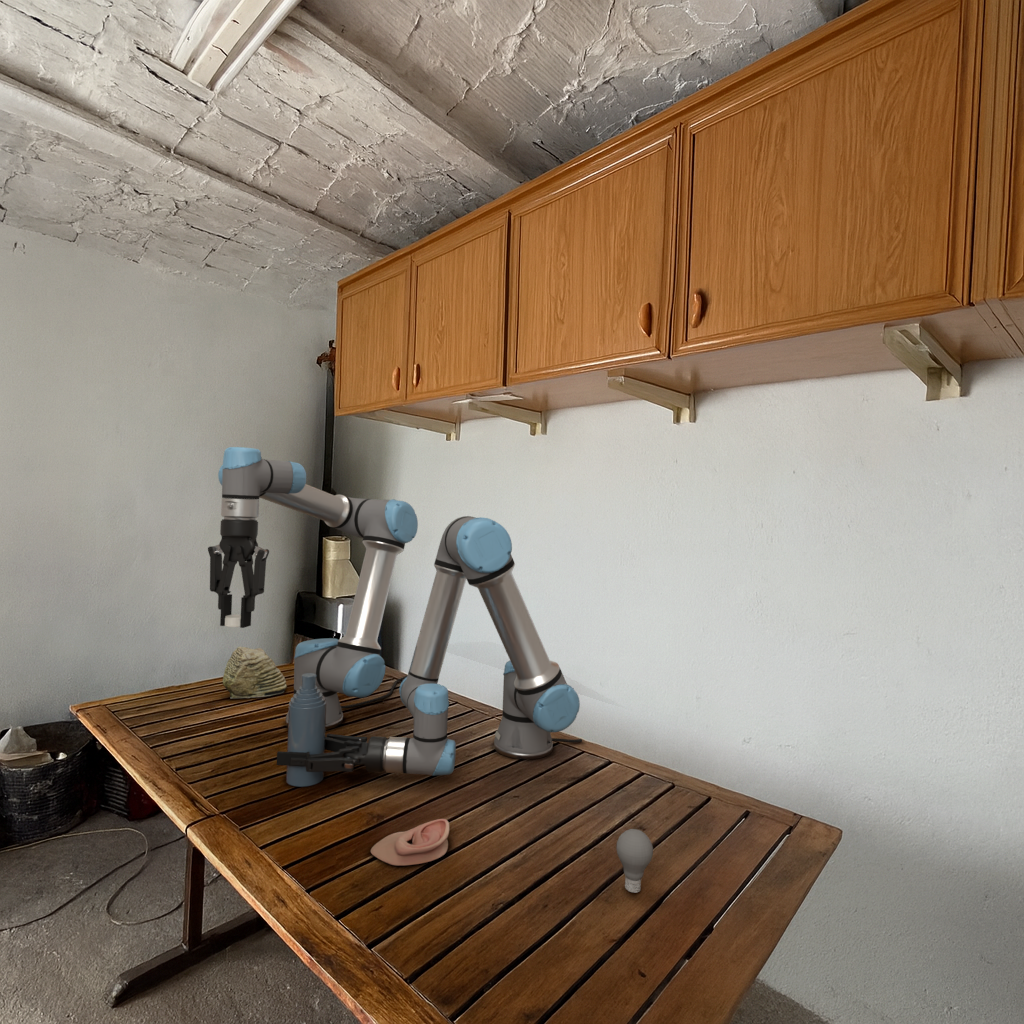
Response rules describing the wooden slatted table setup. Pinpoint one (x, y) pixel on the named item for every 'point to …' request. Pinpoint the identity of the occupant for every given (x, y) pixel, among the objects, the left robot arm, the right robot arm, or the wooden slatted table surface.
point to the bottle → (306, 729)
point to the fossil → (252, 674)
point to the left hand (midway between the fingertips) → (235, 625)
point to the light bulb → (634, 857)
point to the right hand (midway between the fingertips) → (284, 750)
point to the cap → (233, 620)
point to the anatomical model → (414, 844)
